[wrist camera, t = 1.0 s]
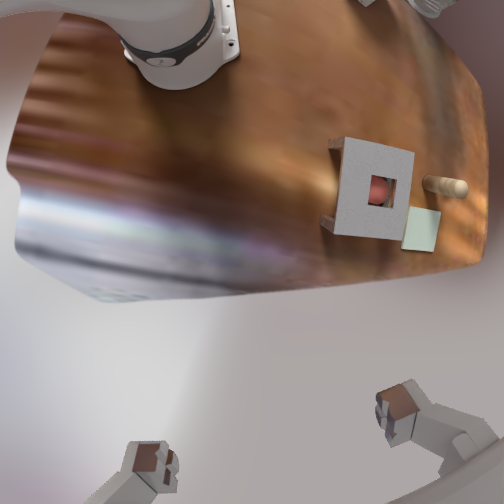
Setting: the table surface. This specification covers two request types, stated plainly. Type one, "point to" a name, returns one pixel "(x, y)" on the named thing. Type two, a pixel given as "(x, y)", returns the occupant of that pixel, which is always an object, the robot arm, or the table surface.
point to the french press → (431, 6)
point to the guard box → (358, 187)
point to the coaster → (420, 229)
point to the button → (378, 190)
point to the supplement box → (366, 2)
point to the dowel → (445, 186)
